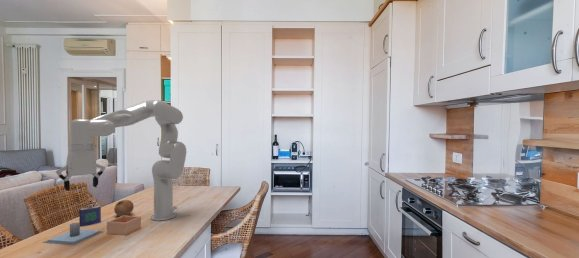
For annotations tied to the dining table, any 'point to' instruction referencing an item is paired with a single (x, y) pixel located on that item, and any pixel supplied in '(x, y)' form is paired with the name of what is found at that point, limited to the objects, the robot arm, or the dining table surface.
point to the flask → (90, 215)
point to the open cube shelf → (124, 225)
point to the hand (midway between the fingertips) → (81, 188)
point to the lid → (73, 235)
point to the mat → (74, 243)
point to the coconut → (123, 208)
